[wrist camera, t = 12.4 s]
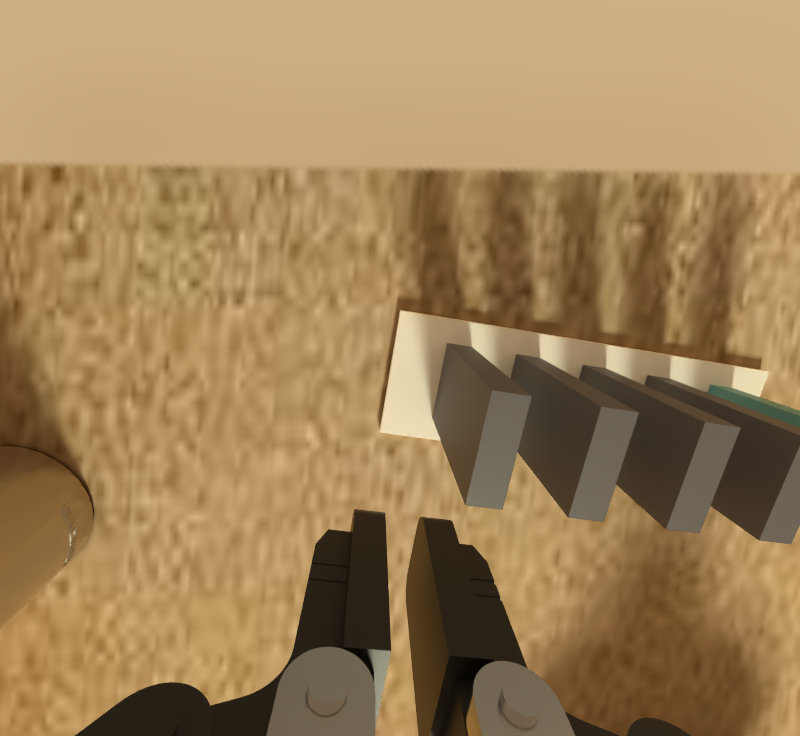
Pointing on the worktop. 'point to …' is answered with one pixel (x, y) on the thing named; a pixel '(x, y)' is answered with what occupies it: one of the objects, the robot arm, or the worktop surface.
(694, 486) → the domino
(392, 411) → the strip
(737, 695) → the worktop surface
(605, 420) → the domino
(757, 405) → the domino
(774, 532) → the domino
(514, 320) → the worktop surface
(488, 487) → the domino
